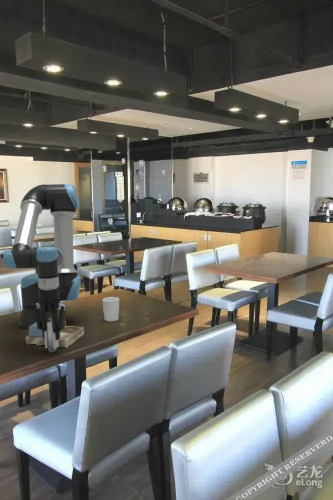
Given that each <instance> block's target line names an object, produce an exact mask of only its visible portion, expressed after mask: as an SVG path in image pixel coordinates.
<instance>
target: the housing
mask: <svg viewBox="0 0 333 500" xmlns="http://www.w3.org/2000/svg"><path fill="white" fill-rule="evenodd" d="M28 335H29V336H37V337H43V331H42V330H41V329H38V328H37V322H36V323H34V324H33V325H31V326H29V329H28Z"/></svg>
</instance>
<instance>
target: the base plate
mask: <svg viewBox="0 0 333 500" xmlns="http://www.w3.org/2000/svg"><path fill="white" fill-rule="evenodd" d="M49 320H52V318H49ZM83 335H85V327H84V326H73V325H71V326H70V325H67V319H66V318H65V328H64V329H63V330H61V331H60V339H59V340H58V341H59V347H58V348H63V347H65V349H66V348H68V347H70V346H71V345H72V344H73V343H75V342H76V341H77V340H78V339H80V338H81V337H82V336H83ZM25 344H26V345H30V344H36V345H35V346H41V345H45V339H43V337H37V336H29V334H28V335H27V336H25ZM69 345H70V346H69Z"/></svg>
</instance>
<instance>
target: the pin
mask: <svg viewBox="0 0 333 500" xmlns="http://www.w3.org/2000/svg"><path fill="white" fill-rule="evenodd" d="M53 332H54V326H53V321H52V320H48V321H47V338H48V348H47V350H48V351H49V352H48V353H55V352H56V351H57V348H56V349H54V348H53ZM54 351H55V352H54Z"/></svg>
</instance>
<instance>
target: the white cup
mask: <svg viewBox="0 0 333 500" xmlns="http://www.w3.org/2000/svg"><path fill="white" fill-rule="evenodd" d="M102 310H103V319H104V321H106V322H117V321H118V320H119V313H120V297H116V296H109V297H104V298H102Z"/></svg>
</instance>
